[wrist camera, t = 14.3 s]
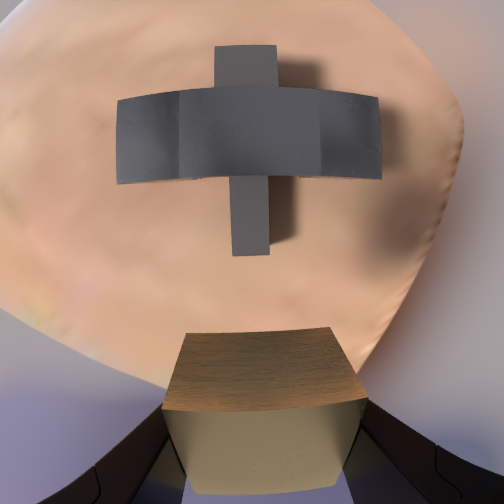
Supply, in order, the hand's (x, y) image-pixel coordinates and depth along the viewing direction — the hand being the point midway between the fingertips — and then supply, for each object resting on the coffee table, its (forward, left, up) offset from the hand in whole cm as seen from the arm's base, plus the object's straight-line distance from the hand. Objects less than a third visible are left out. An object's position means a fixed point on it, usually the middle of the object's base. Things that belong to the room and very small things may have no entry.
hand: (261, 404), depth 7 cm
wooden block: (0, 0, -1) cm, 1 cm away
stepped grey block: (-7, 0, -11) cm, 13 cm away
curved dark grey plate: (-8, 0, -11) cm, 14 cm away
